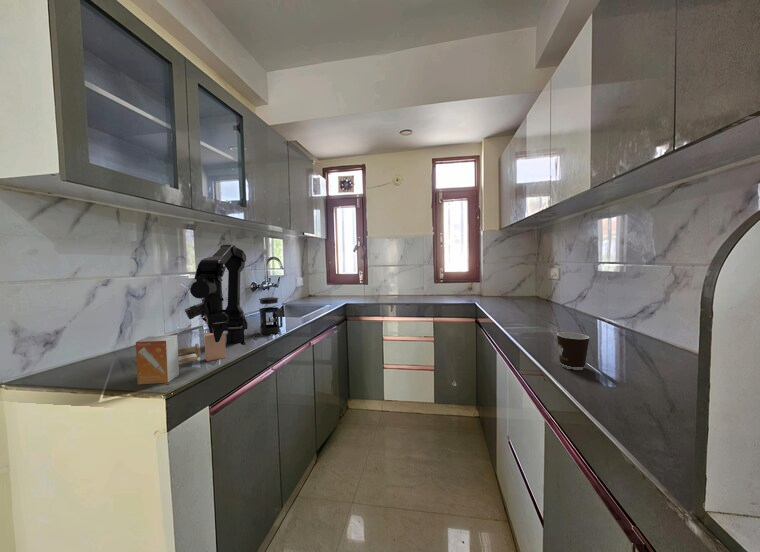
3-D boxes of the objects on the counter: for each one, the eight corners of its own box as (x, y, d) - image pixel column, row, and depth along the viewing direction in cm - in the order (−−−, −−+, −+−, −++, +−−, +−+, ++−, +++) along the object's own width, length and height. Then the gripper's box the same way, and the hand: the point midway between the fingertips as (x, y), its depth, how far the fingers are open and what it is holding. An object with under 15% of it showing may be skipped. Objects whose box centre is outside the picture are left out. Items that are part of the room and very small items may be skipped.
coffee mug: (589, 374, 90) (590, 340, 89) (555, 369, 94) (556, 337, 94) (587, 362, 99) (588, 332, 99) (557, 358, 104) (557, 329, 103)
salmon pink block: (224, 356, 111) (223, 331, 110) (225, 358, 108) (224, 333, 108) (205, 359, 107) (204, 334, 107) (206, 361, 105) (205, 335, 104)
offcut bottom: (196, 361, 109) (196, 357, 109) (198, 365, 105) (198, 361, 105) (175, 365, 105) (174, 361, 105) (176, 369, 101) (176, 365, 101)
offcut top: (195, 357, 109) (195, 353, 109) (197, 360, 105) (197, 356, 105) (176, 361, 105) (176, 357, 105) (178, 364, 102) (178, 360, 102)
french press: (254, 334, 145) (252, 286, 144) (265, 330, 154) (264, 285, 153) (276, 335, 143) (275, 286, 142) (286, 331, 152) (285, 285, 151)
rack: (197, 353, 117) (197, 343, 116) (200, 358, 110) (200, 347, 110) (169, 358, 111) (168, 347, 111) (170, 364, 105) (170, 352, 104)
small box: (137, 387, 86) (134, 341, 85) (150, 378, 92) (148, 336, 91) (168, 385, 87) (166, 340, 86) (179, 376, 93) (177, 334, 92)
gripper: (183, 295, 109) (185, 338, 110) (188, 299, 94) (191, 349, 95) (218, 292, 116) (219, 333, 117) (228, 296, 101) (230, 343, 102)
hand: (214, 339), depth 107 cm, fingers open, 9 cm apart
